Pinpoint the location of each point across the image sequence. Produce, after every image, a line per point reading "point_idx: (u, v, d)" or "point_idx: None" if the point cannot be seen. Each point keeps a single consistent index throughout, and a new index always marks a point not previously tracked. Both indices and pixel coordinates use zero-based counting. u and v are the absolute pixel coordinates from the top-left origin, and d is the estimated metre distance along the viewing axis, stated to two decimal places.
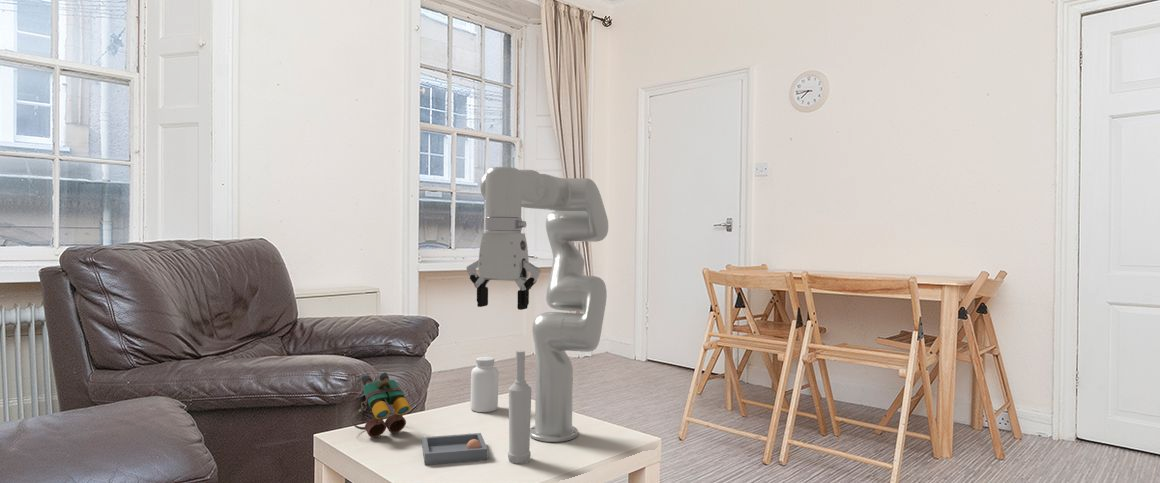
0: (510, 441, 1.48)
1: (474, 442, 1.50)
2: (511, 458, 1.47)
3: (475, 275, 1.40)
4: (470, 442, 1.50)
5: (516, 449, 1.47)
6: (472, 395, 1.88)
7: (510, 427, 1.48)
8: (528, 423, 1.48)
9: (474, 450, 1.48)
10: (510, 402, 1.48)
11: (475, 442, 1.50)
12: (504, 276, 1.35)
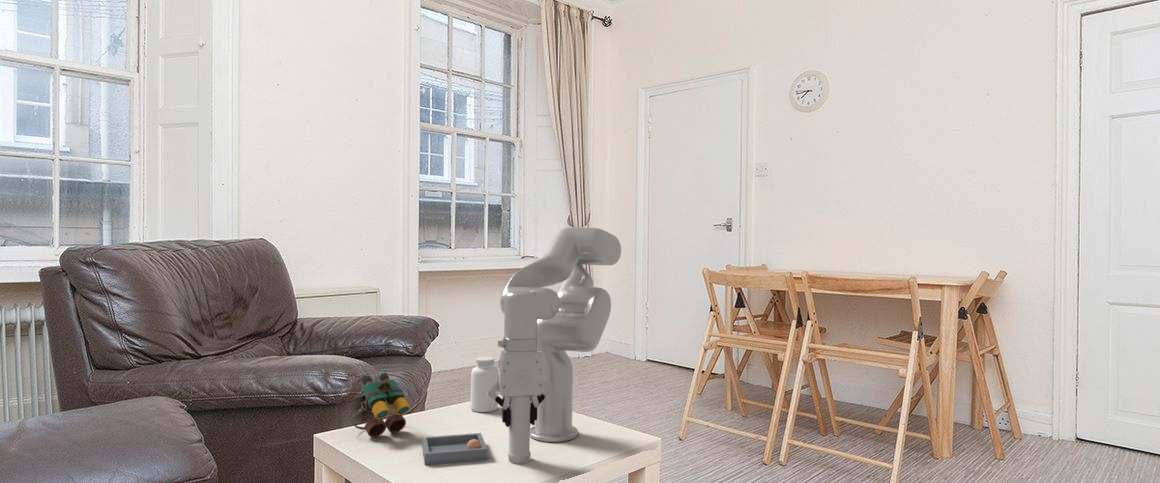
0: (510, 441, 1.48)
1: (474, 442, 1.50)
2: (511, 458, 1.47)
3: (540, 393, 1.51)
4: (470, 442, 1.50)
5: (516, 449, 1.47)
6: (472, 395, 1.88)
7: (510, 427, 1.48)
8: (528, 423, 1.48)
9: (474, 450, 1.48)
10: (510, 402, 1.48)
11: (475, 442, 1.50)
12: None
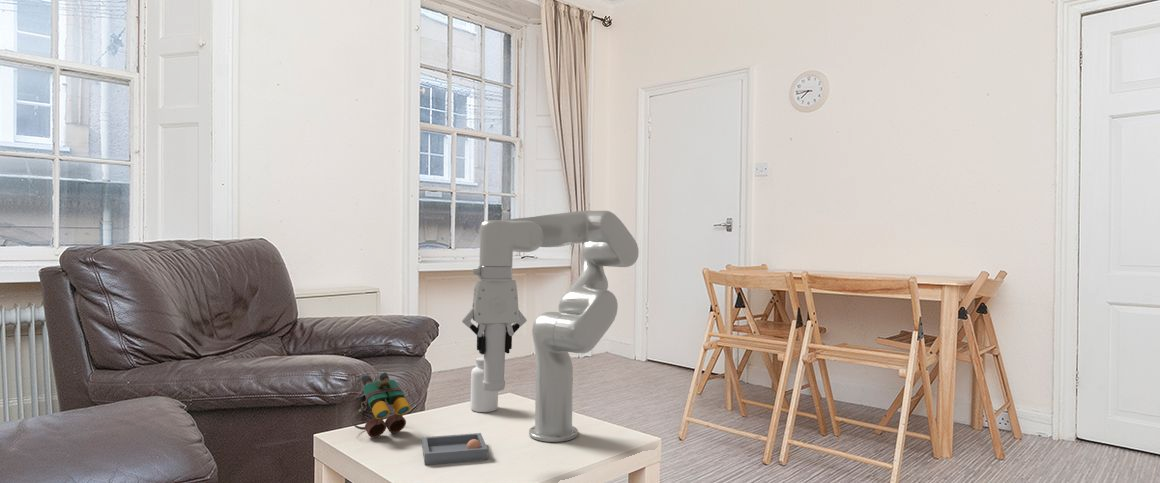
0: (485, 369, 1.49)
1: (474, 442, 1.50)
2: (485, 386, 1.48)
3: (515, 323, 1.52)
4: (470, 442, 1.50)
5: (491, 376, 1.48)
6: (472, 395, 1.88)
7: (485, 355, 1.49)
8: (503, 351, 1.49)
9: (474, 450, 1.48)
10: (485, 330, 1.48)
11: (475, 442, 1.50)
12: None
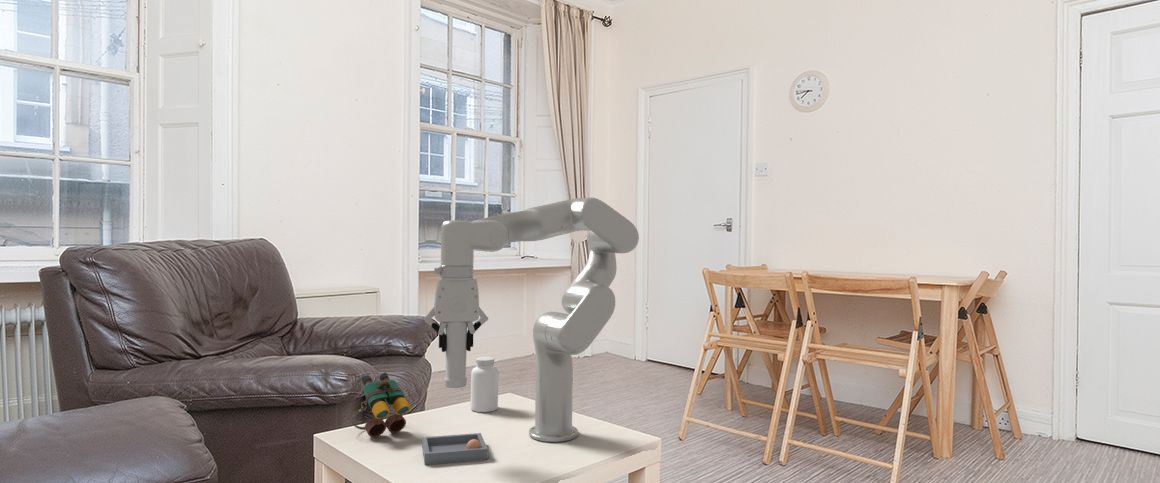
0: (446, 366, 1.51)
1: (474, 442, 1.50)
2: (446, 383, 1.51)
3: (477, 321, 1.54)
4: (470, 442, 1.50)
5: (452, 374, 1.50)
6: (472, 395, 1.88)
7: (446, 352, 1.51)
8: (464, 349, 1.51)
9: (474, 450, 1.48)
10: (446, 328, 1.51)
11: (475, 442, 1.50)
12: None
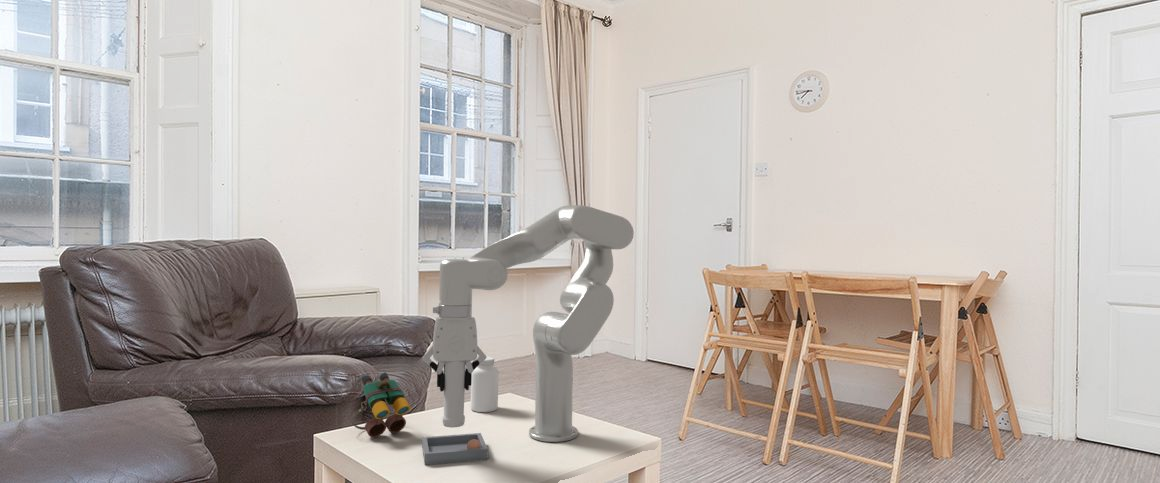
0: (444, 405, 1.51)
1: (474, 442, 1.50)
2: (444, 422, 1.51)
3: (475, 360, 1.54)
4: (470, 442, 1.50)
5: (450, 413, 1.50)
6: (472, 395, 1.88)
7: (444, 391, 1.51)
8: (462, 388, 1.51)
9: (474, 450, 1.48)
10: (444, 367, 1.51)
11: (475, 442, 1.50)
12: None
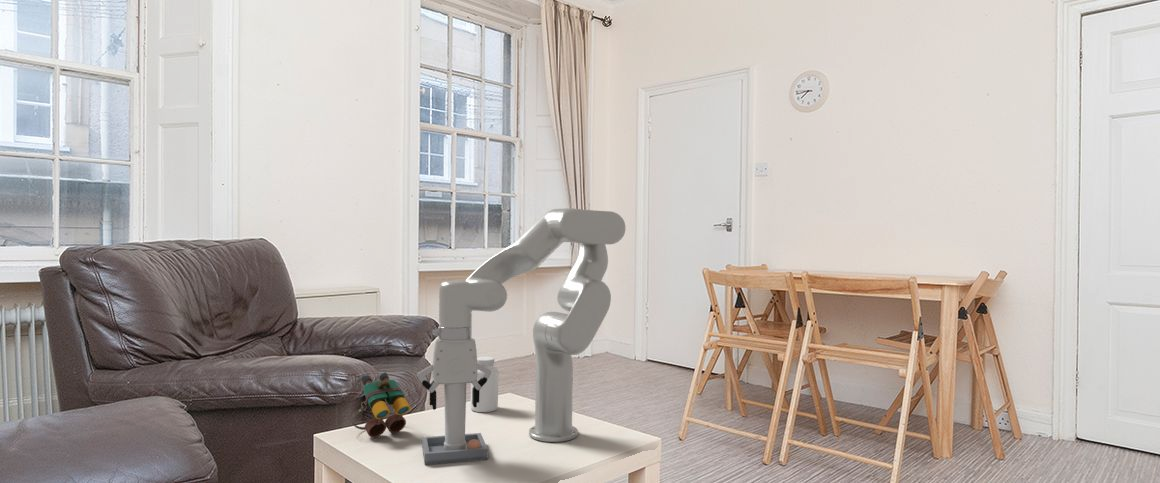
0: (445, 431, 1.52)
1: (474, 442, 1.50)
2: (446, 448, 1.51)
3: (482, 377, 1.55)
4: (470, 442, 1.50)
5: (451, 439, 1.51)
6: None
7: (445, 417, 1.52)
8: (463, 413, 1.52)
9: (474, 450, 1.48)
10: (445, 393, 1.51)
11: (475, 442, 1.50)
12: None
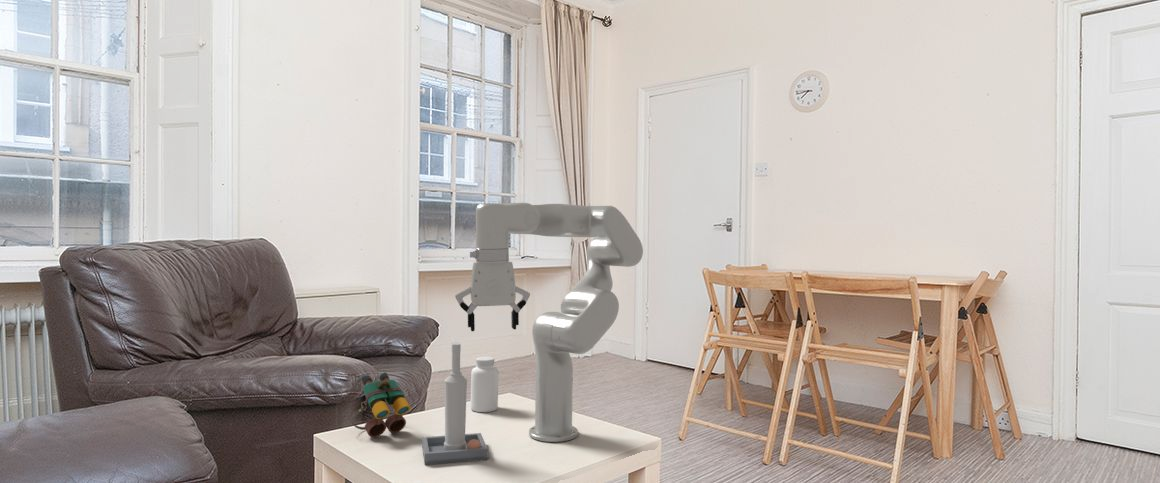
0: (445, 431, 1.52)
1: (474, 442, 1.50)
2: (446, 448, 1.51)
3: (521, 300, 1.54)
4: (470, 442, 1.50)
5: (451, 439, 1.51)
6: (472, 395, 1.88)
7: (445, 417, 1.52)
8: (463, 414, 1.52)
9: (474, 450, 1.48)
10: (445, 393, 1.51)
11: (475, 442, 1.50)
12: None
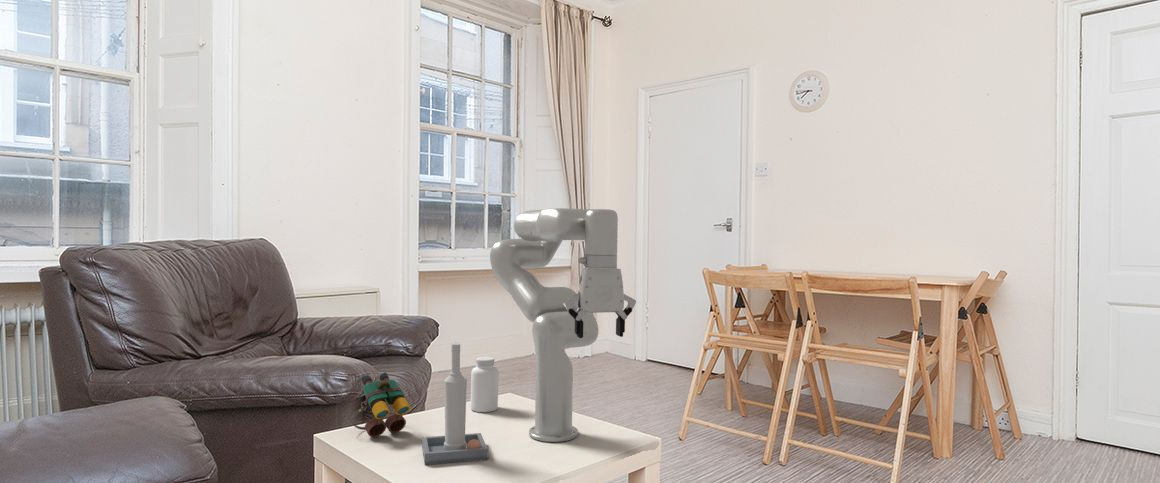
0: (445, 431, 1.52)
1: (474, 442, 1.50)
2: (446, 448, 1.51)
3: (626, 307, 1.53)
4: (470, 442, 1.50)
5: (451, 439, 1.51)
6: (472, 395, 1.88)
7: (445, 417, 1.52)
8: (463, 414, 1.52)
9: (474, 450, 1.48)
10: (445, 393, 1.51)
11: (475, 442, 1.50)
12: None
